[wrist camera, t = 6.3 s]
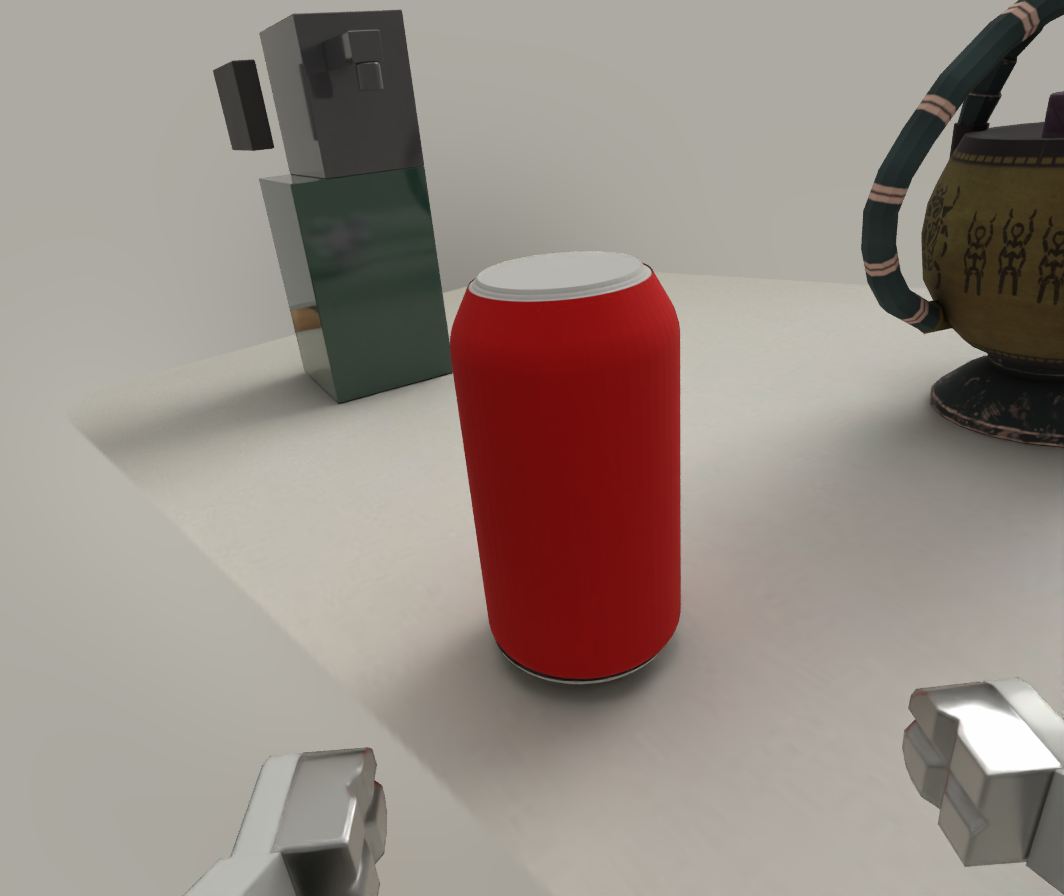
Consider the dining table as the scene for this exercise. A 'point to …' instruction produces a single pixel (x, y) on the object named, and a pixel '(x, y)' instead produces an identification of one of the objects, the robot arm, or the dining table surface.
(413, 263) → the dispenser
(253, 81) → the plate
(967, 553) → the dining table surface
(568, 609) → the beverage can
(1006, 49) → the teapot
